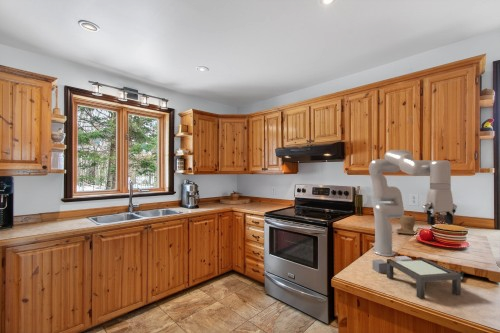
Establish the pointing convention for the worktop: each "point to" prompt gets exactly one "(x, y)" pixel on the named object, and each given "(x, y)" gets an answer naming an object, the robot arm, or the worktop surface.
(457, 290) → the frame
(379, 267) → the grey cube
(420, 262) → the trapdoor
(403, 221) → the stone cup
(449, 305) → the worktop surface
